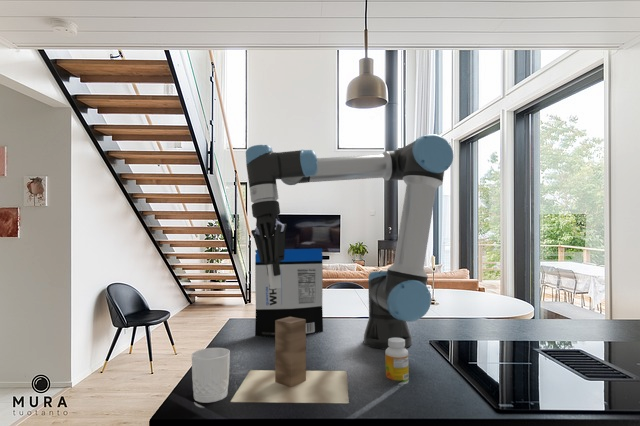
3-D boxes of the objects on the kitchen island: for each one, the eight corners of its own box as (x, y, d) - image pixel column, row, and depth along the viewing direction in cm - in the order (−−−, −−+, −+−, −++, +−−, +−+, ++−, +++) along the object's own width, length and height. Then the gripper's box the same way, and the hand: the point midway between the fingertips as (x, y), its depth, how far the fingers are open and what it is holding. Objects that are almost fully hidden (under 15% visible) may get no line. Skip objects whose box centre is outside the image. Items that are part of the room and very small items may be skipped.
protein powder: (326, 335, 132) (325, 249, 134) (256, 339, 127) (256, 250, 129) (319, 328, 142) (319, 248, 143) (254, 332, 136) (254, 249, 138)
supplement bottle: (384, 376, 93) (383, 336, 93) (406, 377, 93) (405, 336, 93) (387, 385, 87) (386, 342, 88) (410, 385, 87) (410, 342, 88)
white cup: (196, 394, 83) (196, 348, 84) (232, 392, 84) (232, 347, 85) (186, 410, 76) (187, 359, 76) (226, 409, 76) (227, 358, 77)
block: (274, 381, 87) (274, 320, 88) (289, 375, 91) (289, 316, 92) (291, 387, 84) (290, 323, 85) (306, 380, 88) (305, 319, 88)
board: (346, 375, 94) (346, 371, 94) (348, 409, 76) (348, 403, 76) (250, 375, 95) (250, 370, 95) (230, 407, 77) (230, 401, 77)
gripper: (240, 206, 106) (250, 291, 103) (268, 197, 97) (280, 290, 94) (261, 206, 111) (271, 286, 109) (290, 197, 102) (302, 285, 100)
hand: (275, 288), depth 102 cm, fingers closed
